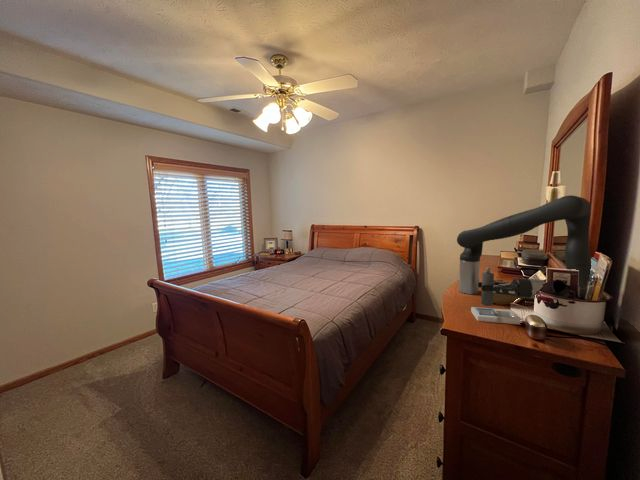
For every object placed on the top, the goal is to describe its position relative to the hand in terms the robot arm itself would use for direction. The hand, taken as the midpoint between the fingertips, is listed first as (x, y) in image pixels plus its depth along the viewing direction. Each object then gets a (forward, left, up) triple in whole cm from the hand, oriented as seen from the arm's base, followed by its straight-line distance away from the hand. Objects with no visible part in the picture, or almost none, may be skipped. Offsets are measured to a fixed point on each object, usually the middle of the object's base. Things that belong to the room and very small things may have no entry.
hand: (480, 286), depth 108 cm
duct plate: (0, +6, -13) cm, 14 cm away
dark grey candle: (0, +3, -7) cm, 8 cm away
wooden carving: (-18, +14, -13) cm, 26 cm away
